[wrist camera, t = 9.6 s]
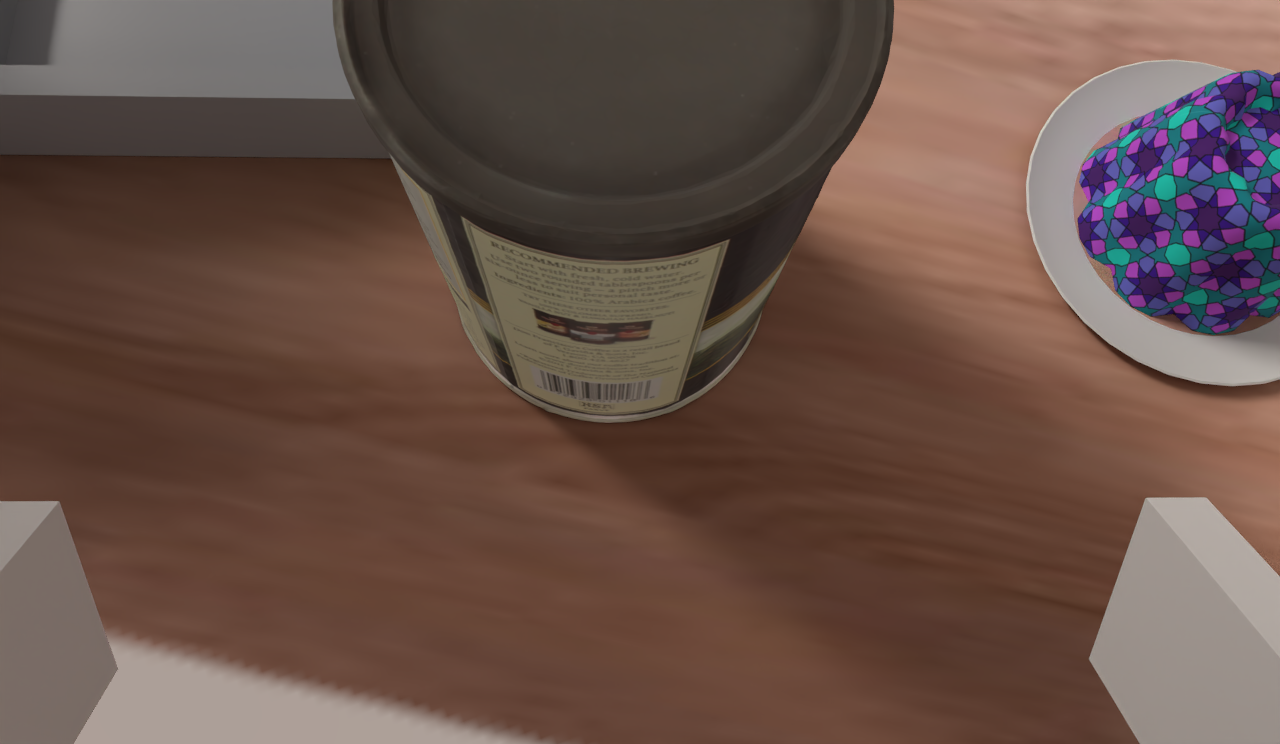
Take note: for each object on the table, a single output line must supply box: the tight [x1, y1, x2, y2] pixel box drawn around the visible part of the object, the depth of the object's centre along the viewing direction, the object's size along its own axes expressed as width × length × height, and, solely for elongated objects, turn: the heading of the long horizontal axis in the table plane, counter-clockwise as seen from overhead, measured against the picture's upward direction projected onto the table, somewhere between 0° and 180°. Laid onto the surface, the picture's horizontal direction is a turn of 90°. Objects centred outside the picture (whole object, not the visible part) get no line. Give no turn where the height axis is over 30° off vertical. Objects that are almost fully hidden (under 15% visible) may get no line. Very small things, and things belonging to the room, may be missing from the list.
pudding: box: [1026, 60, 1280, 386], centre depth 30 cm, size 12×12×5 cm
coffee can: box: [332, 0, 894, 423], centre depth 24 cm, size 10×10×14 cm
